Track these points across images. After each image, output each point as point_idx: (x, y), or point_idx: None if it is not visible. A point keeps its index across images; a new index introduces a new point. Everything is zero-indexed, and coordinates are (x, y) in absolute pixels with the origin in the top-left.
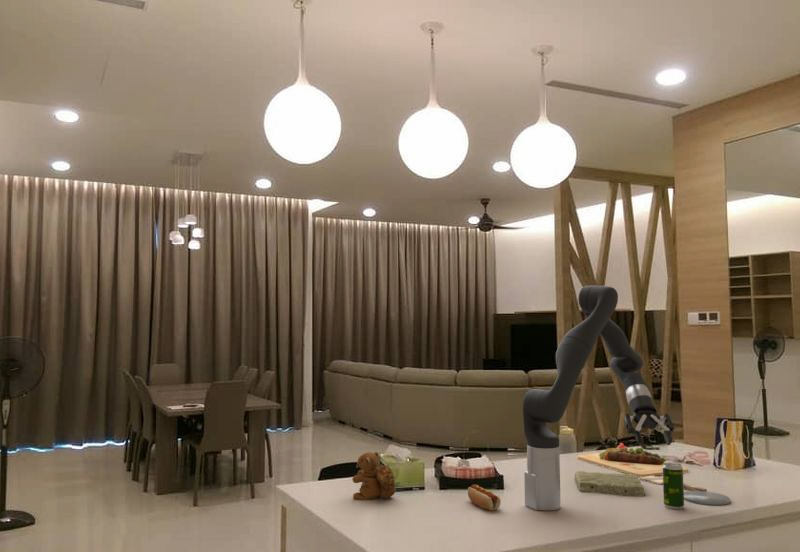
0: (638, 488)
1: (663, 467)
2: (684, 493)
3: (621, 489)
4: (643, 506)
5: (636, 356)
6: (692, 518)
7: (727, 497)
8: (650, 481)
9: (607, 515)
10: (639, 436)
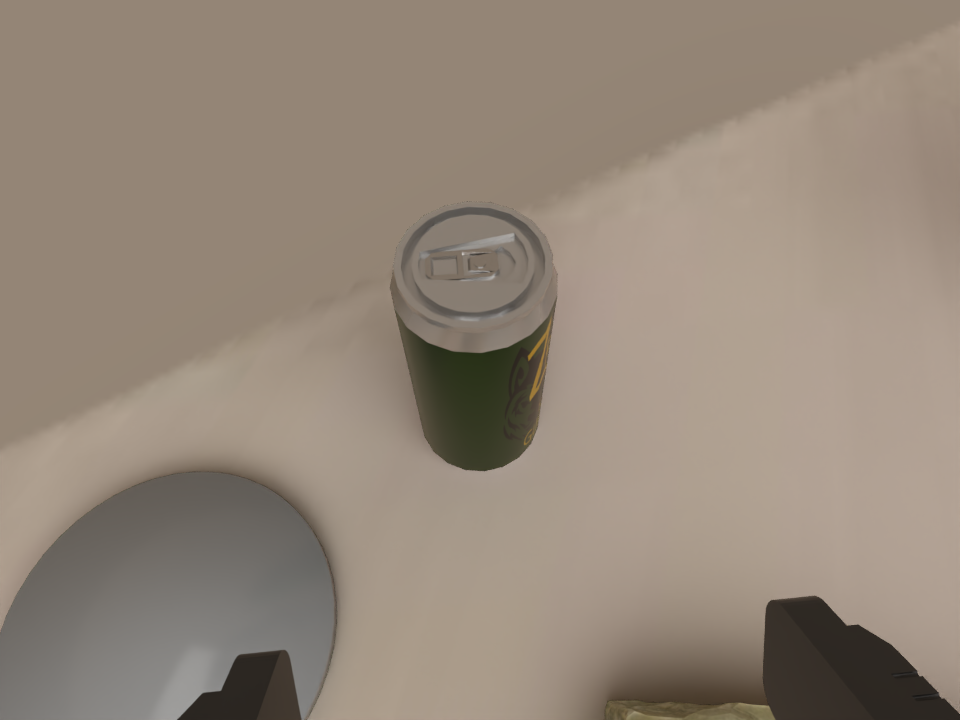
0: (667, 715)
1: (556, 273)
2: None
3: None
4: (663, 414)
5: None
6: None
7: (18, 614)
8: None
9: (866, 247)
10: (888, 690)
